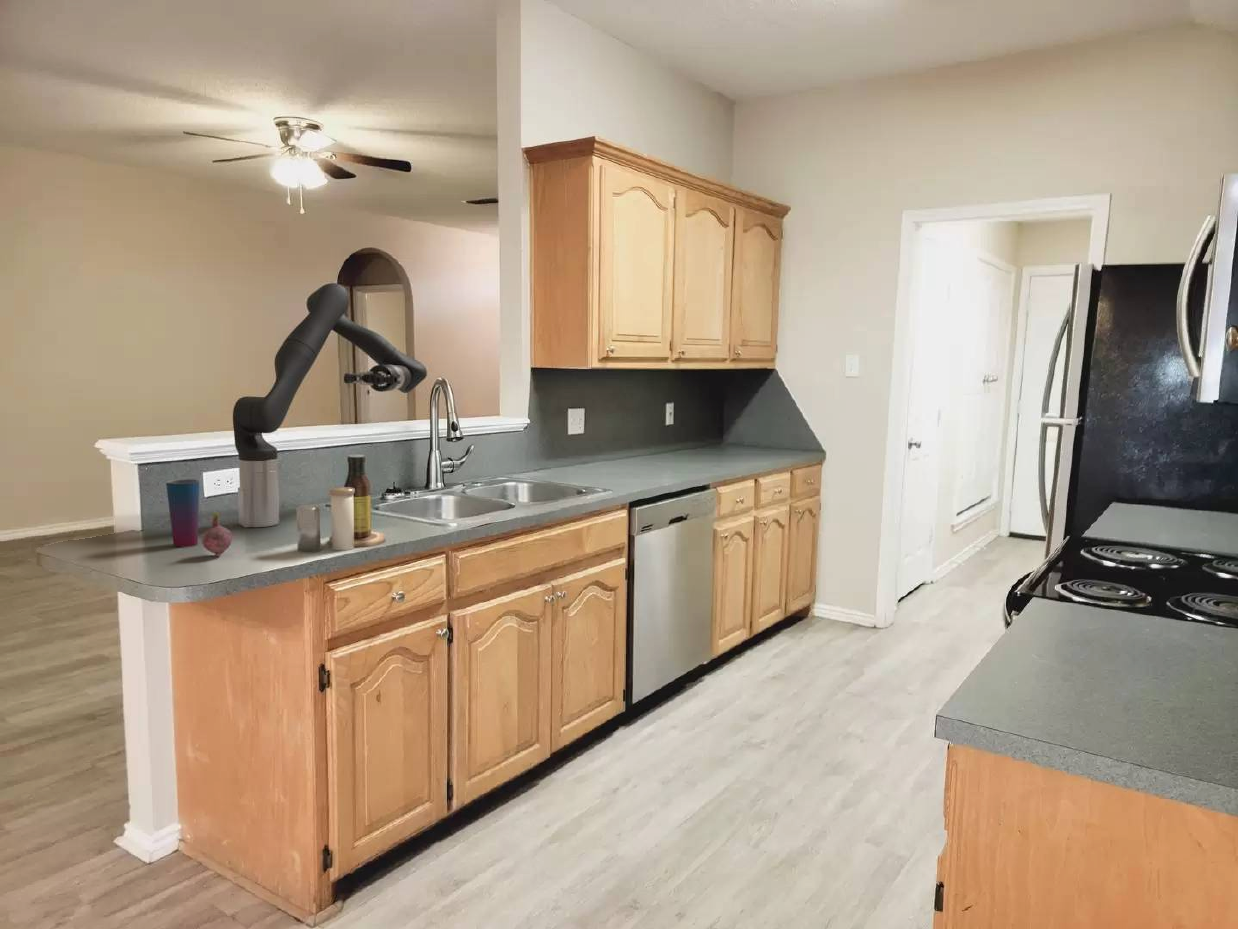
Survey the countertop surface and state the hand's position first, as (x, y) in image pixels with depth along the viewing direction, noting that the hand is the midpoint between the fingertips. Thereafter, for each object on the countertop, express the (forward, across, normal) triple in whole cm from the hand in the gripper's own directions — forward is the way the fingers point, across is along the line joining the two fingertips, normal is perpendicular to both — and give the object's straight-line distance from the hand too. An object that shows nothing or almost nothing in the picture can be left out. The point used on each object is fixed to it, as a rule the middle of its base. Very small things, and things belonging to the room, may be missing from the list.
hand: (360, 379), depth 222 cm
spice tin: (+35, +4, +38) cm, 52 cm away
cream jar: (+31, +10, +38) cm, 50 cm away
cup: (+37, -26, +38) cm, 59 cm away
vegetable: (+45, -13, +38) cm, 60 cm away
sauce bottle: (+23, +10, +37) cm, 45 cm away
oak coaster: (+24, +10, +38) cm, 46 cm away
